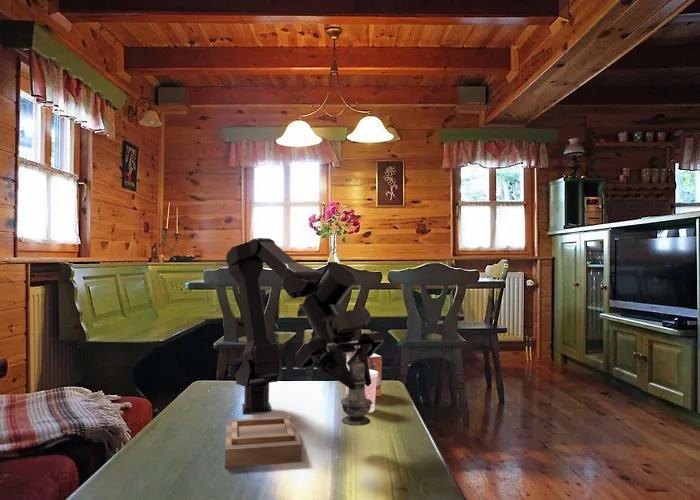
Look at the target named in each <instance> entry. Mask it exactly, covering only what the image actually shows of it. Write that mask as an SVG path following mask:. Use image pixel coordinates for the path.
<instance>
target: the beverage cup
mask: <svg viewBox="0 0 700 500" xmlns="http://www.w3.org/2000/svg"><path fill="white" fill-rule="evenodd" d="M369 372H370V378H371V384H370V386H366V385H365V396H366V398H367V399H369V400H371V401H372V404H371V407H370V410H369V412H368V413H367V414H369V413H373V412H374V411H375V410H376V409H375V408H376V407H375V406H376V397H375V395H376V381H377V376H378V372H377V371H375V370H370V369H369Z"/></svg>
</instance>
